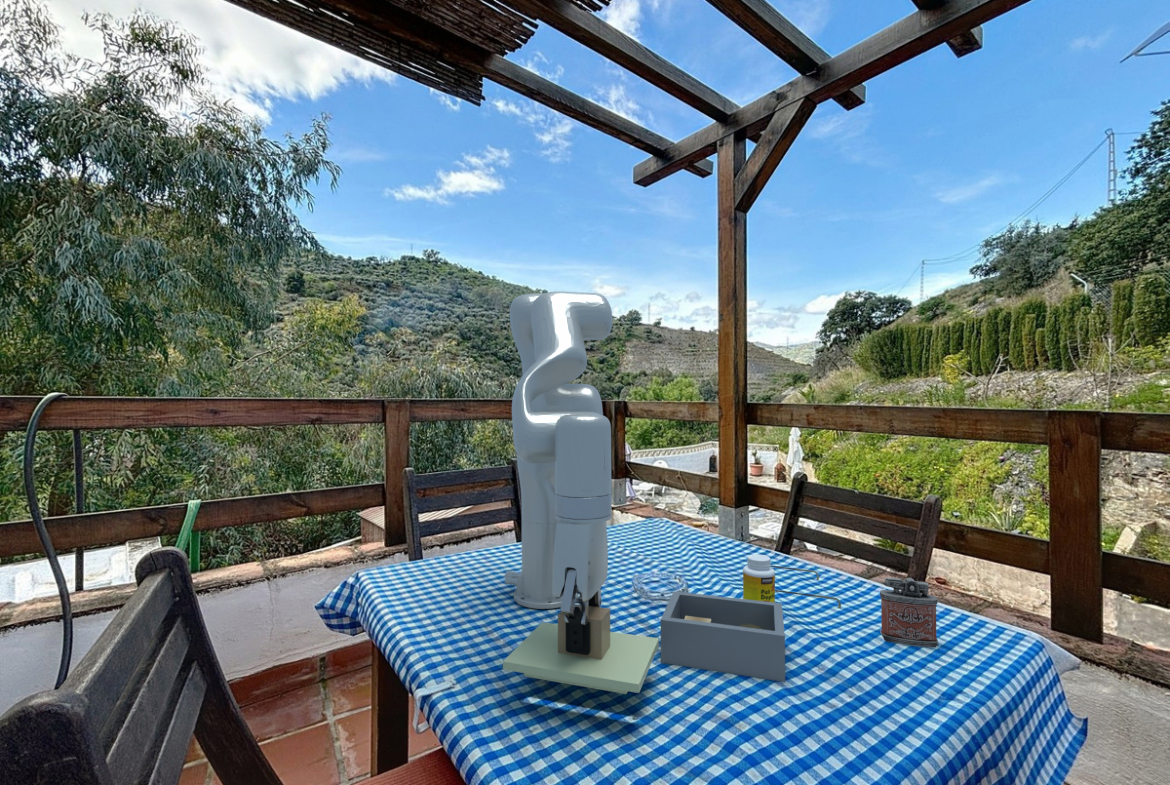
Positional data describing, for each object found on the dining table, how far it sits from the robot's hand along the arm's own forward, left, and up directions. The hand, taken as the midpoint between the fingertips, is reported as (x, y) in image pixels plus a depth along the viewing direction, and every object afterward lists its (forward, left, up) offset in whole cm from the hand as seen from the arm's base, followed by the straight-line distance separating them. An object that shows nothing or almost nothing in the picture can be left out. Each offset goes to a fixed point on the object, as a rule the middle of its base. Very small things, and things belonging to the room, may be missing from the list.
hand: (583, 643), depth 71 cm
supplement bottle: (+22, +35, -7) cm, 42 cm away
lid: (0, 0, -3) cm, 3 cm away
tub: (+17, +16, -7) cm, 24 cm away
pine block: (+13, +16, -6) cm, 22 cm away
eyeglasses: (+28, +49, -7) cm, 57 cm away
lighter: (+45, +31, -7) cm, 55 cm away
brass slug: (+21, +16, -6) cm, 27 cm away
